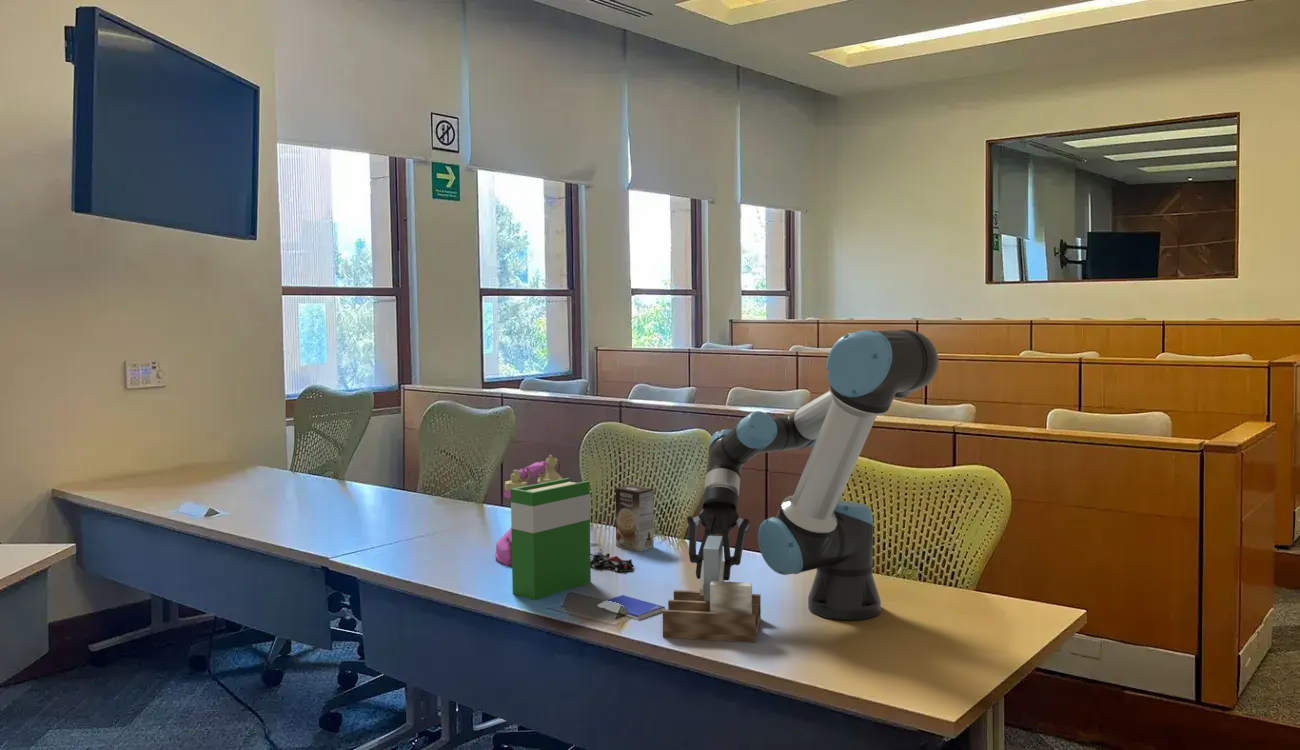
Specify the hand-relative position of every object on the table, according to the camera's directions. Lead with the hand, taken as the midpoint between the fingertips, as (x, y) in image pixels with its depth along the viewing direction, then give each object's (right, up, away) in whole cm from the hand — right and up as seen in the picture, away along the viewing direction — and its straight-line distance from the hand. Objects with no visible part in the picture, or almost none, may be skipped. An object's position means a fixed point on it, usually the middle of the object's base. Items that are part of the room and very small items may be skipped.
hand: (710, 592), depth 189 cm
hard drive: (-16, -7, +14) cm, 23 cm away
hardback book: (-35, -6, +30) cm, 46 cm away
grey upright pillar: (+1, -2, +5) cm, 5 cm away
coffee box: (-16, -3, +67) cm, 69 cm away
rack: (+1, -7, +1) cm, 7 cm away
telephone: (-41, -4, +62) cm, 75 cm away
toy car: (-21, -5, +46) cm, 51 cm away
